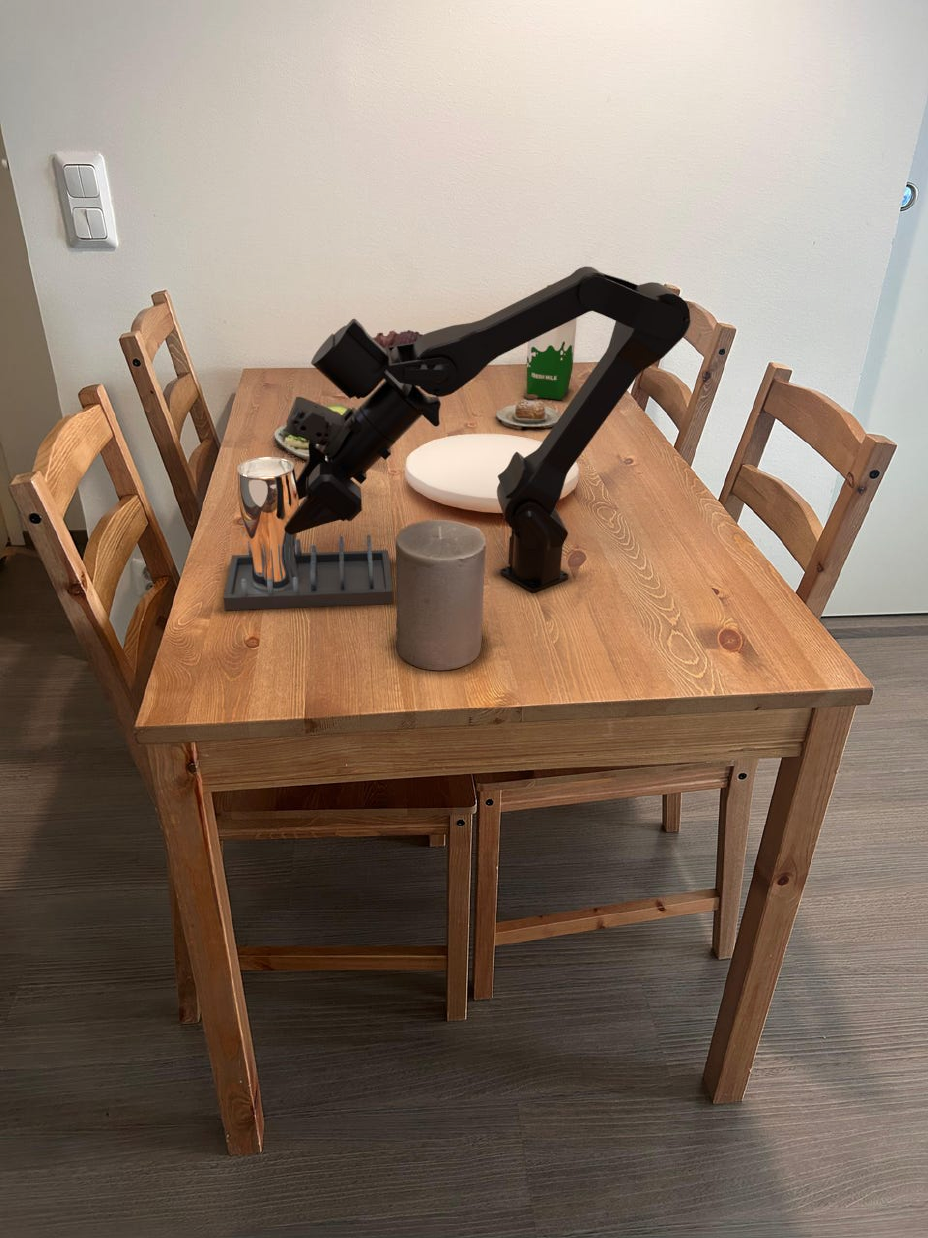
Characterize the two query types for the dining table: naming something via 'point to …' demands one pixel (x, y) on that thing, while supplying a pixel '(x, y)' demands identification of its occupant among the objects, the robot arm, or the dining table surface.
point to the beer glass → (269, 519)
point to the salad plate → (299, 444)
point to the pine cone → (397, 338)
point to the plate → (470, 469)
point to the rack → (316, 581)
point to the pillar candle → (439, 593)
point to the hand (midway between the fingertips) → (288, 515)
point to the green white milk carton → (551, 362)
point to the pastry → (528, 414)
